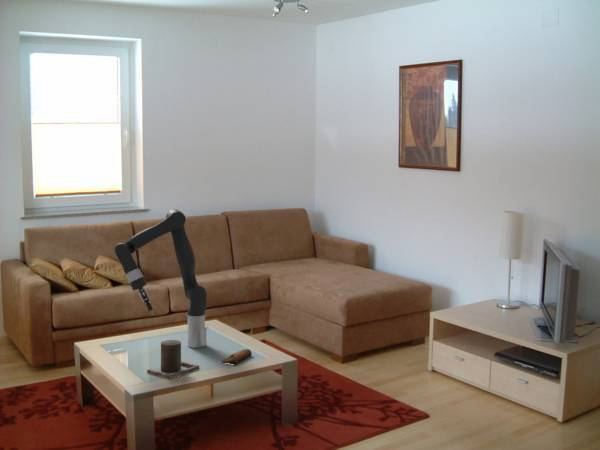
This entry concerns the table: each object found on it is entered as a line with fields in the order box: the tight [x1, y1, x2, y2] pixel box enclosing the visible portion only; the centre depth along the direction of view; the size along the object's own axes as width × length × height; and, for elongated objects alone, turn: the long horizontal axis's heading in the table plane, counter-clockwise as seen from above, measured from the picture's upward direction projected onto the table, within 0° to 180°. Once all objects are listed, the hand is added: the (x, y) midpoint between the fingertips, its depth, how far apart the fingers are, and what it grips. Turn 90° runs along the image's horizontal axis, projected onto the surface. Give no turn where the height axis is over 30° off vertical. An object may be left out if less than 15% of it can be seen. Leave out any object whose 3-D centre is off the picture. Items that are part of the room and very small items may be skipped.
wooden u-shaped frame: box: [146, 360, 200, 380], centre depth 343 cm, size 16×19×2 cm
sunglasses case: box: [221, 348, 253, 365], centre depth 361 cm, size 18×7×7 cm, turn 156°
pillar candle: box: [160, 339, 182, 374], centre depth 343 cm, size 10×10×15 cm
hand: (151, 310), depth 360 cm, fingers closed
